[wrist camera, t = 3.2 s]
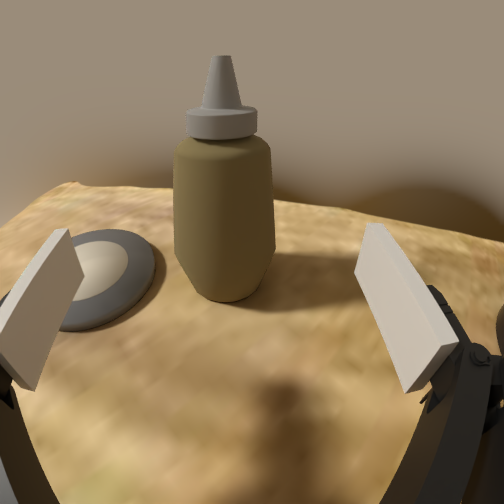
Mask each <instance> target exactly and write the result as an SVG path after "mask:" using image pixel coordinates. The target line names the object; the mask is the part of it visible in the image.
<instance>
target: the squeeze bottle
mask: <svg viewBox="0 0 504 504" xmlns="http://www.w3.org/2000/svg"><path fill="white" fill-rule="evenodd" d="M186 130H187V134H188V135H189V136H190V137H189V138H187V139H185V140H183V141H182V142H181V143H180V144H179V145H178V146H177V147H176V149H175V151H174V171H173V172H174V174H173V176H174V177H173V182H174V183H173V211H174V251H175V255H176V257H177V259H178V261H179V263H180V265H181V266H182V268H183V270H184V271H185V273H186V275H187V276H188V278H189V280H190V281H191V283H192V284H193V286H194V288H195V289H196V291H197V292H198V293H199V294H200V295H202V296H203V297H205V298H206V299H209V300H214V301H218V302H234V301H238V300H240V299H243V298H246V297H248V296H249V295H251V294H252V293H253V292H254V291H255V290H257V288H258V286H259V284H260V282H261V280H262V278H263V276H264V274H265V272H266V270H267V268H268V266H269V264H270V261H271V259H272V257H273V254H274V252H275V249H276V244H275V223H274V203H273V185H272V168H271V152H270V147H269V145H268V144H267V143H266V142H265V141H264V140H263V139H262V138H260V137H257V136H255V135H253V134H254V133H256V132H257V110H256V109H255V108H253V107H249V106H242V105H241V101H240V96H239V91H238V87H237V82H236V78H235V73H234V69H233V64H232V60H231V56H212V59H211V63H210V68H209V72H208V77H207V82H206V86H205V91H204V96H203V101H202V106H201V107H198V108H193V109H190V110H188V111H187V112H186Z"/></svg>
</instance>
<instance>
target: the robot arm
mask: <svg viewBox="0 0 504 504" xmlns="http://www.w3.org/2000/svg"><path fill="white" fill-rule="evenodd" d="M354 274H355V276H356V278H357V280H358V282H359V284H360V286H361V289H362V291H363V293H364V295H365V297H366V300H367V302H368V304H369V306H370V309H371V311H372V313H373V315H374V318H375V320H376V322H377V325H378V327H379V329H380V332H381V334H382V337H383V339H384V341H385V344H386V346H387V349H388V351H389V354H390V356H391V359H392V361H393V364H394V366H395V369H396V372H397V374H398V377H399V380H400V382H401V385H402V388H403V390H404V393H405V394H406V393H410V392H414V391H418V390H421V389H423V388H424V386H425V385H426V384H427V383H428V382H429V380H430V382H431V385H432V388H431V389H430V391H429V392H428V393H427V394H426V395H425V396H424V397H423V398H422V400H421V401H420V404H422V403H423V402H424V401H425V400H426V399H427V400H426V402H425V405H424V408H423V411H422V414H421V416H420V419H419V422H418V424H417V427H416V429H415V432H414V434H413V437H412V439H411V441H410V444H409V446H408V448H407V451H406V453H405V455H404V457H403V459H402V461H401V463H400V466H399V468H398V470H397V472H396V474H395V476H394V478H393V480H392V481H391V483H390V485H389V487H388V489H387V491H386V493H385V494H384V496H383V498H382V500H381V501H380V503H379V504H460V503H461V504H504V406H503V407H502V408H501V406H500V401H502V400H504V304H503V306H502V308H501V309H500V311H499V313H498V316H497V322H496V332H497V339H498V344H499V348H500V351H501V354H502V356H499V355H491V354H490V352H489V351H488V350H487V349H486V348H485V347H484V346H482V345H481V344H478V343H471V341H470V339H469V338H468V336H467V334H466V332H465V331H464V329H463V327H462V326H461V324H460V322H459V321H458V319H457V317H456V316H455V314H454V313H453V311H452V309H451V308H450V306H449V305H448V303H447V301H446V300H445V298H444V297H443V295H442V293H440V292H439V291H438V290H437V289H436V288H435V287H434V286H432V285H425V283H424V281H423V280H422V278H421V277H420V275H419V274H418V272H417V271H416V269H415V268H414V266H413V265H412V264H411V262H410V261H409V259H408V258H407V256H406V255H405V253H404V252H403V251H402V249H401V248H400V246H399V245H398V244H397V242H396V241H395V240H394V238H393V237H392V235H391V234H390V233H389V231H388V230H387V229H386V227H385V226H384V225H383V223H367V225H366V230H365V234H364V238H363V242H362V246H361V249H360V253H359V257H358V261H357V264H356V268H355V271H354ZM84 277H85V275H84V273H83V270H82V268H81V265H80V262H79V259H78V256H77V254H76V251H75V248H74V245H73V242H72V239H71V236H70V233H69V229H55V230H54V232H53V233H52V234H51V235H50V237H49V238H48V239H47V240H46V242H45V243H44V244H43V246H42V247H41V248H40V250H39V251H38V252H37V254H36V255H35V256H34V258H33V259H32V260H31V262H30V263H29V265H28V266H27V267H26V269H25V270H24V272H23V273H22V275H21V276H20V278H19V279H18V280H17V282H16V283H15V285H14V287H13V288H12V290H10V291H9V292H8V293H7V294H6V295H5V296H4V297H3V298H2V299H1V301H0V504H60V503H59V501H58V499H57V498H56V496H55V494H54V492H53V490H52V488H51V486H50V484H49V482H48V480H47V478H46V476H45V474H44V471H43V469H42V467H41V465H40V462H39V460H38V458H37V455H36V453H35V450H34V448H33V445H32V443H31V440H30V437H29V435H28V432H27V429H26V426H25V423H24V420H23V417H22V414H21V411H20V408H19V404H18V401H17V397H16V394H15V390H14V388H13V387H12V386H11V383H12V380H14V381H15V382H16V383H17V384H18V385H19V386H20V387H21V388H23V389H27V390H30V391H34V392H35V389H36V386H37V384H38V381H39V378H40V375H41V373H42V370H43V367H44V365H45V362H46V360H47V357H48V355H49V352H50V350H51V347H52V345H53V342H54V340H55V338H56V335H57V333H58V331H59V328H60V326H61V324H62V322H63V320H64V317H65V315H66V313H67V311H68V309H69V307H70V305H71V303H72V301H73V299H74V296H75V294H76V292H77V290H78V289H79V287H80V285H81V283H82V281H83V279H84ZM461 500H462V502H461Z"/></svg>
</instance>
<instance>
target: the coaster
mask: <svg viewBox="0 0 504 504" xmlns="http://www.w3.org/2000/svg"><path fill="white" fill-rule="evenodd" d="M71 239H72V242H73V245H74V248H75V251H76V254H77V256H78V259H79V262H80V265H81V268H82V270H83V273H84V275H85V277H84V279H83V281H82V283H81V285H80V287H79V289H78V290H77V292H76V294H75V296H74V299H73V301H72V303H71V305H70V307H69V309H68V311H67V313H66V315H65V317H64V320H63V322H62V324H61V326H60V328H59V331H70V332H71V331H81V330H87V329H91V328H94V327H97V326H101V325H103V324H105V323H108V322H110V321H112V320H114V319H115V318H117V317H119V316H121V315H122V314H124V313H125V312H127V311H128V310H129V309H130V308H132V307H133V306H134V305H135V304H136V303H137V302H138V301H139V300H140V299H141V298H142V297H143V296H144V294H145V293H146V292H147V290H148V289H149V287H150V285H151V283H152V281H153V278H154V275H155V260H154V255H153V250H152V248H151V246H150V245H149V243H148V242H147V241H146V240H145V239H144V238H143V237H141V236H139V235H137V234H135V233H133V232H129V231H125V230H117V229H105V230H96V231H91V232H87V233H83V234H80V235H77V236H75V237H72V238H71Z"/></svg>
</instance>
